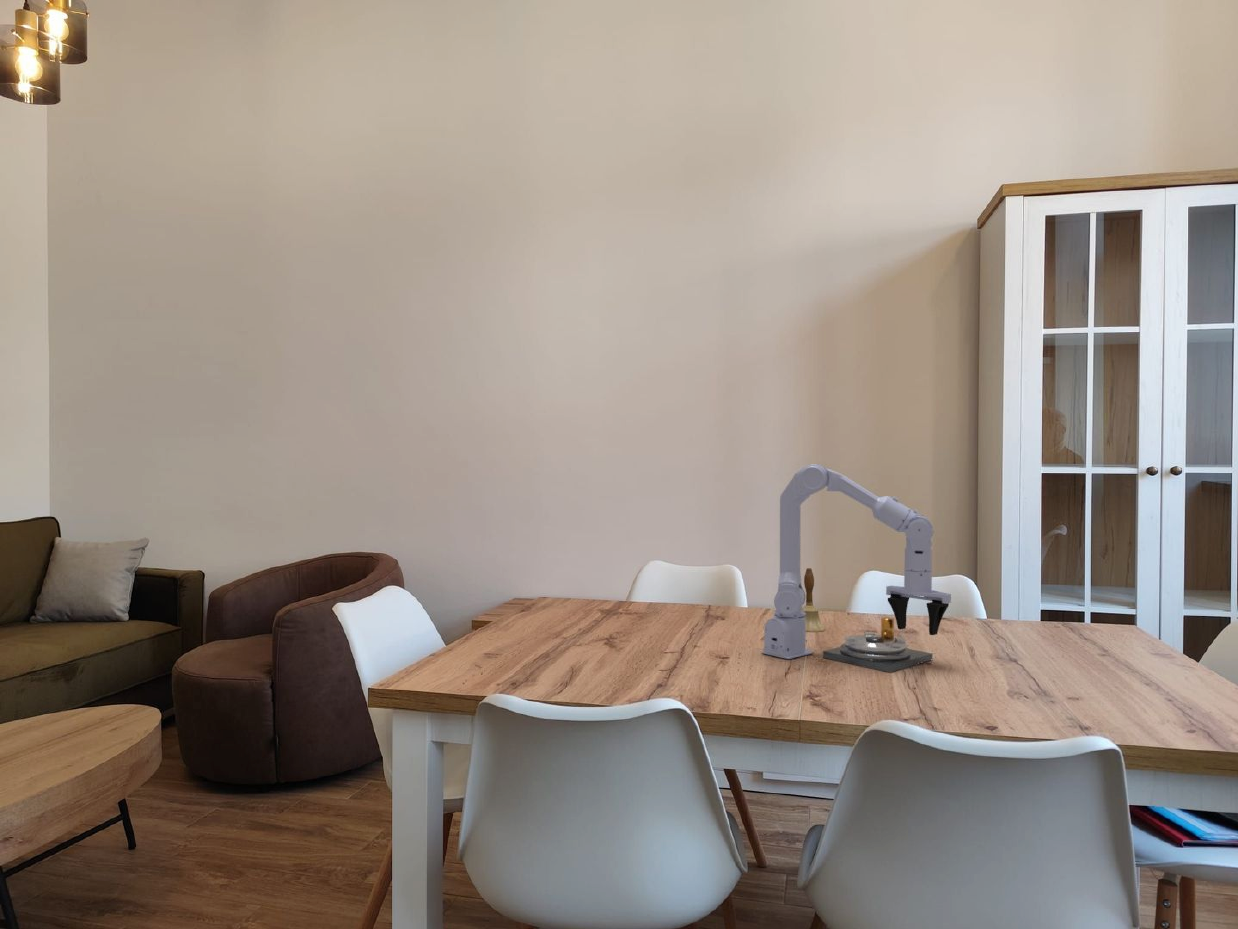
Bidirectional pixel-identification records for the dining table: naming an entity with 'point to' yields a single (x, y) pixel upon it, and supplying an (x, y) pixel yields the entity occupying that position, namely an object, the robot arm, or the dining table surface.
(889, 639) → the grey crank wheel
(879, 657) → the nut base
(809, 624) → the hand bell
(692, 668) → the dining table surface
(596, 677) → the dining table surface
